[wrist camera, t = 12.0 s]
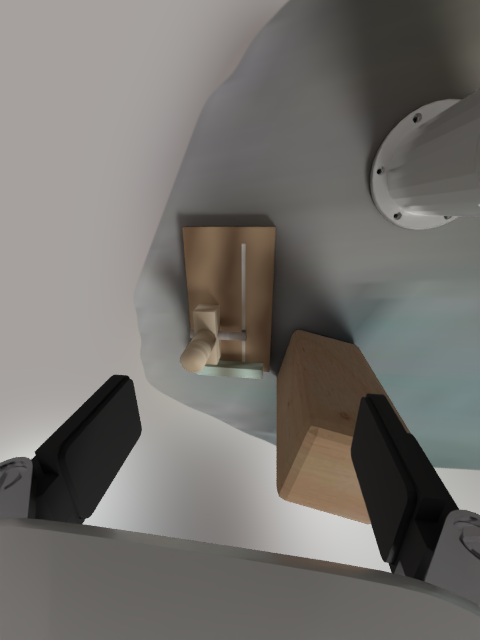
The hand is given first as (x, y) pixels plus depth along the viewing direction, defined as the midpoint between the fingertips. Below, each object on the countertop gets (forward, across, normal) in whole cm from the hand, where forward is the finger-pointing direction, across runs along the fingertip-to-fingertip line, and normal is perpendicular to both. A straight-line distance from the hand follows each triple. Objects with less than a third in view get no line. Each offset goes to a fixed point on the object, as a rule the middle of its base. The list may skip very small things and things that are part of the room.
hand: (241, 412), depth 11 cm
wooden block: (+28, -8, +14) cm, 33 cm away
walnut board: (+28, +5, +4) cm, 29 cm away
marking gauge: (+26, +6, +8) cm, 28 cm away
